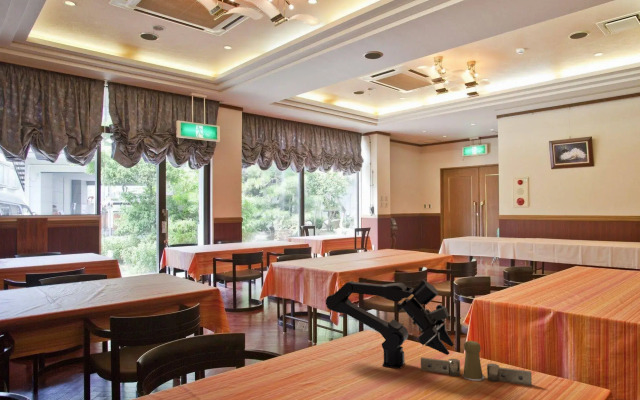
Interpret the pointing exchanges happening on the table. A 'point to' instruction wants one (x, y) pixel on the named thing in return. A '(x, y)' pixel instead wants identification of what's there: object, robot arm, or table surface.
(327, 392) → the table surface
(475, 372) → the olive rounded piece
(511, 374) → the hinge frame
